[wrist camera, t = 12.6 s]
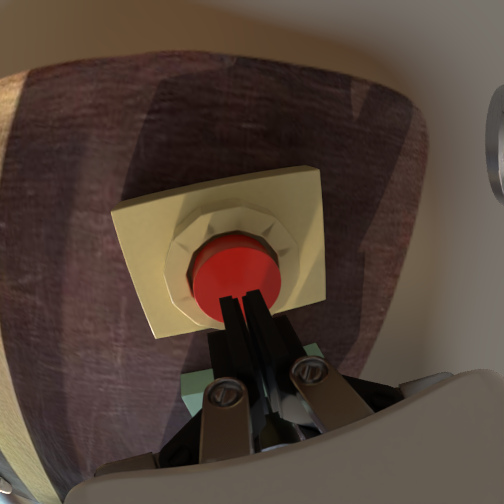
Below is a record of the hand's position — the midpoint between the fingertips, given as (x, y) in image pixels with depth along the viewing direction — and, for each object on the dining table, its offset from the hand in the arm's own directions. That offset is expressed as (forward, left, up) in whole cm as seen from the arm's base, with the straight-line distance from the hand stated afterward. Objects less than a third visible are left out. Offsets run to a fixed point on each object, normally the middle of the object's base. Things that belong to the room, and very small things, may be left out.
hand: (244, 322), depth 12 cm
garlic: (+70, +47, -8) cm, 85 cm away
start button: (0, 0, -4) cm, 5 cm away
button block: (0, 0, -8) cm, 8 cm away
